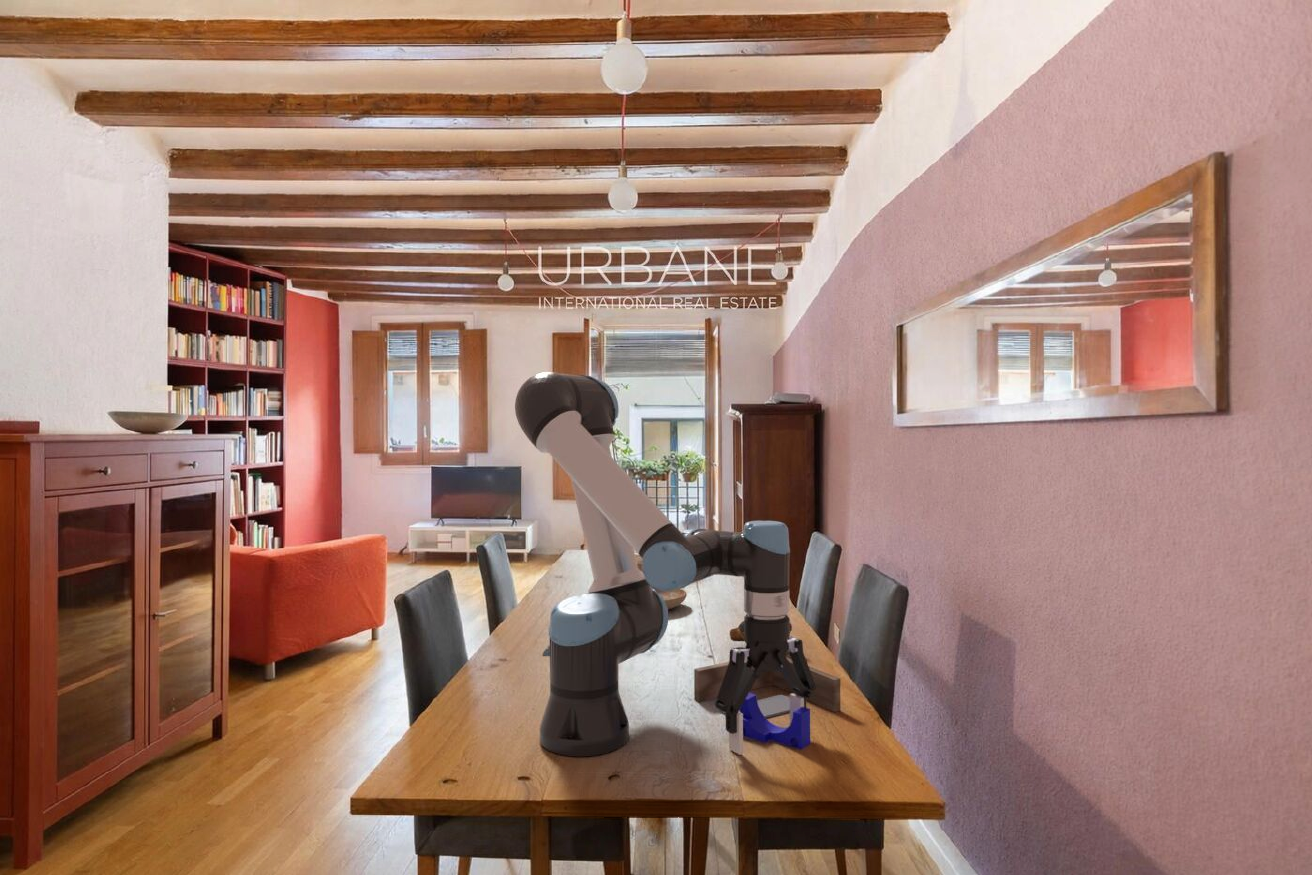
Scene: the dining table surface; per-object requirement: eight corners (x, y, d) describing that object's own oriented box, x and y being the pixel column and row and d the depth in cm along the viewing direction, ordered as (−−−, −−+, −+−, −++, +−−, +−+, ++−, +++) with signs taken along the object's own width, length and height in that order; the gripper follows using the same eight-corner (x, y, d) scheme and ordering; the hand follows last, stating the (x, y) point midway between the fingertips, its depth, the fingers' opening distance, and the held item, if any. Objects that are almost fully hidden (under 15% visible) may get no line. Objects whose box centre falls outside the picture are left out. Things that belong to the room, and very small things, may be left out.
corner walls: (756, 733, 127) (756, 699, 127) (694, 699, 144) (694, 668, 144) (840, 710, 138) (840, 678, 138) (773, 681, 154) (773, 652, 154)
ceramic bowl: (687, 618, 206) (687, 600, 206) (603, 618, 207) (603, 600, 207) (685, 599, 230) (685, 583, 230) (610, 599, 230) (610, 583, 230)
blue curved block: (735, 734, 128) (735, 700, 128) (749, 726, 131) (749, 692, 131) (797, 753, 120) (796, 717, 120) (810, 744, 123) (810, 708, 123)
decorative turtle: (791, 658, 170) (788, 623, 169) (726, 656, 174) (724, 623, 174) (796, 644, 179) (793, 611, 179) (734, 643, 183) (731, 611, 183)
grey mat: (742, 724, 131) (742, 722, 131) (719, 711, 137) (719, 709, 137) (805, 707, 139) (805, 705, 139) (781, 696, 145) (781, 694, 145)
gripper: (720, 630, 114) (721, 768, 114) (836, 609, 126) (837, 734, 127) (693, 619, 120) (693, 750, 120) (806, 600, 133) (806, 719, 133)
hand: (767, 742), depth 123 cm, fingers open, 12 cm apart
